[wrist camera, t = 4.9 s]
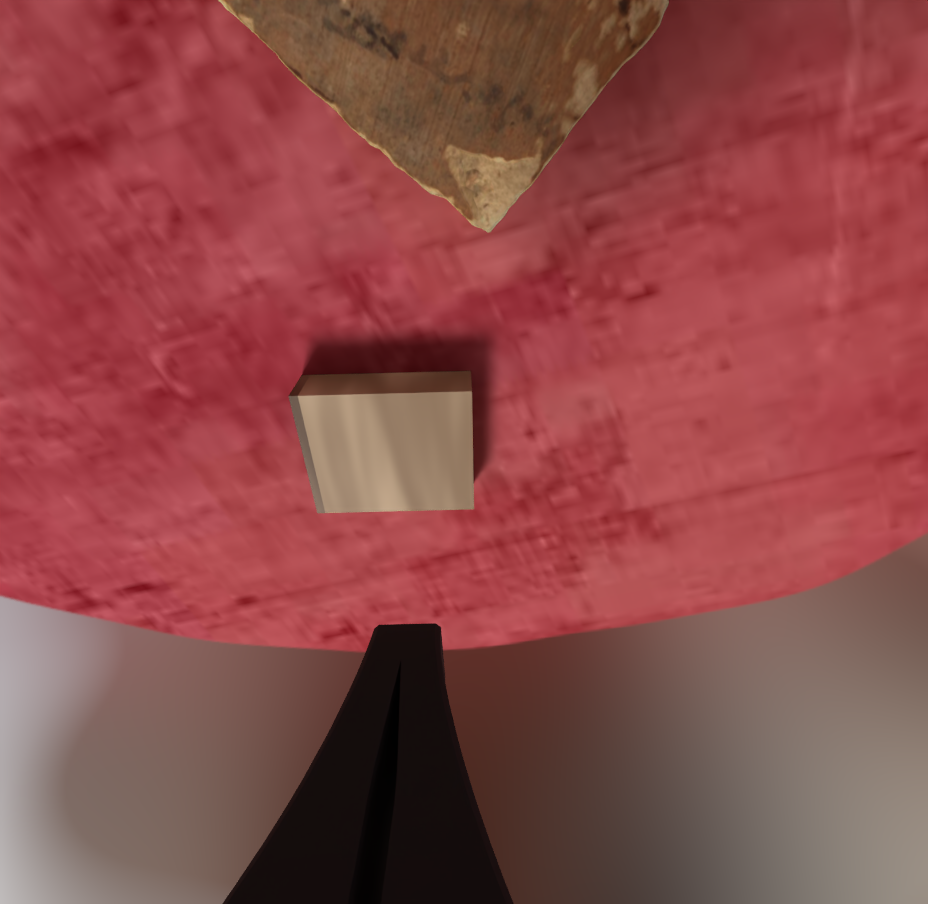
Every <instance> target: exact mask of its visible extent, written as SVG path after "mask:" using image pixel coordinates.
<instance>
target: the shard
mask: <svg viewBox="0 0 928 904" xmlns="http://www.w3.org/2000/svg"><path fill="white" fill-rule="evenodd" d="M219 1H220V2H221V3H222V4H223V6H224V7H225V8H226V9H227V10H228V11H229V12H231V13H232V14H233V15H235V16H236V17H237V18H238V19H239V20H240V21H241V22H242V23H243V24H244V25H246V26H247V27H248V28H249V29H250V30H251V31H252V32H253V33H255V34H256V35H257V36H258V37H259V38H260V39H261V40H262V41H263V42H264V43H265V44H266V45H267V46H268V47H269V48H270V49H271V50H272V51H274V52H275V53H276V54H277V56H278V57H279V59H280V60H281V62H282V63H283V64H284V65H285V66H286V67H287V68H288V69H289V70H290V71H291V72H292V73H293V75H294V76H295V77H296V78H297V79H298V80H300V81H301V82H302V83H303V84H304V85H306V86H307V87H308V88H309V89H310V90H311V91H312V92H313V93H314V94H315V95H317V96H318V97H319V98H321V99H322V100H324V101H325V102H326V103H327V104H328V105H329V106H331V107H332V108H333V109H334V110H335V111H336V112H337V113H338V114H339V115H340V116H341V117H342V118H343V120H344V121H345V122H346V123H347V124H348V125H349V126H350V127H351V128H352V129H353V130H354V131H355V132H356V133H358V134H359V135H360V136H361V137H363V138H364V139H366V141H367V142H368V143H369V144H370V145H372V146H373V147H375V148H378V149H380V150H381V151H382V152H383V153H384V154H385V155H386V156H387V157H388V158H389V159H390V160H391V162H392V163H393V164H394V165H395V167H397V168H399V169H401V170H403V171H404V172H406V173H407V174H408V175H409V176H410V177H411V178H413V179H414V180H415V181H416V182H418V183H419V184H420V185H421V186H422V187H423V188H424V189H425V190H426V191H428V192H429V193H431V194H433V195H436V196H440V197H443V198H445V199H447V200H448V201H449V202H450V203H451V204H452V205H453V206H454V207H455V208H456V209H457V210H458V211H459V212H460V213H461V214H462V215H463V216H464V217H465V218H466V219H467V220H468V221H469V222H470V223H471V224H472V225H473V226H476V227H478V228H481V229H483V230H485V231H487V232H491V231H492V230H493V228H494V227H495V226H496V224H497V223H498V222H499V221H500V220H501V219H502V218H503V217H504V216H505V215H506V213H507V211H508V209H509V208H510V207H511V206H512V205H513V204H514V203H515V202H516V200H517V199H518V198H519V196H520V195H521V194H522V193H524V192H525V191H526V190H527V189H528V188H529V187H530V186H531V185H532V184H533V183H534V181H535V180H536V179H537V177H538V176H539V175H540V173H541V172H542V170H543V169H544V167H545V166H546V165H547V164H548V163H549V161H550V160H551V159H552V158H553V156H554V155H555V154H556V152H557V151H558V150H559V148H560V147H561V145H562V144H563V142H564V141H565V139H566V138H567V136H568V134H569V133H570V131H571V130H572V128H573V127H574V126H575V124H576V123H577V122H578V121H579V120H580V119H581V118H582V116H583V115H584V114H585V112H586V111H587V109H588V108H589V107H590V106H591V104H592V103H593V102H594V101H595V99H596V98H597V96H598V95H599V94H600V92H601V91H602V90H603V88H604V87H605V86H606V84H607V83H608V82H609V81H610V80H611V79H612V78H613V77H614V76H615V75H616V73H617V72H618V71H619V69H620V68H621V67H622V66H623V65H624V64H625V63H626V62H627V61H628V60H630V59H631V58H632V57H633V56H635V54H636V53H637V52H638V51H639V50H640V49H641V48H642V47H643V46H644V45H645V44H646V43H647V42H648V41H649V39H650V38H651V37H652V35H653V34H654V33H655V31H656V30H657V29H658V27H659V26H660V23H661V21H662V18H663V15H664V12H665V10H666V8H667V6H668V4H669V1H668V0H219Z"/></svg>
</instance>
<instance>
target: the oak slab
mask: <svg viewBox="0 0 928 904" xmlns="http://www.w3.org/2000/svg"><path fill="white" fill-rule="evenodd" d="M289 400H290V404H291V408H292V412H293V416H294V420H295V424H296V428H297V432H298V436H299V440H300V444H301V448H302V453H303V457H304V461H305V465H306V469H307V473H308V477H309V481H310V485H311V489H312V493H313V497H314V501H315V505H316V509H317V513H342V512H381V511H421V510H460V509H474V482H473V422H472V382H471V371H445V372H405V373H366V374H326V375H302V376H301V377H300V379H299V380H298V382H297V384H296V385H295V387H294V388H293V390H292V392H291V393H290V395H289Z"/></svg>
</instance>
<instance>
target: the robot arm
mask: <svg viewBox="0 0 928 904" xmlns="http://www.w3.org/2000/svg"><path fill="white" fill-rule="evenodd" d="M223 904H513V901H512V899H511V896H510V894H509V891H508V889H507V886H506V884H505V881H504V879H503V876H502V873H501V870H500V868H499V865H498V862H497V859H496V857H495V854H494V851H493V848H492V846H491V843H490V840H489V837H488V834H487V832H486V829H485V826H484V823H483V820H482V817H481V814H480V811H479V808H478V805H477V802H476V799H475V796H474V793H473V790H472V786H471V783H470V780H469V777H468V773H467V770H466V767H465V763H464V760H463V757H462V753H461V749H460V745H459V742H458V738H457V734H456V730H455V726H454V722H453V717H452V713H451V709H450V705H449V700H448V695H447V690H446V684H445V670H444V659H443V647H442V636H441V627H440V626H438V625H437V624H396V625H378V626H377V627H376V628H375V629H374V631H373V634H372V637H371V640H370V643H369V645H368V648H367V651H366V653H365V656H364V658H363V660H362V663H361V665H360V668H359V670H358V672H357V675H356V677H355V679H354V681H353V683H352V686H351V688H350V690H349V692H348V694H347V696H346V698H345V700H344V702H343V704H342V706H341V708H340V711H339V712H338V714H337V717H336V719H335V720H334V723H333V725H332V727H331V729H330V730H329V733H328V734H327V736H326V738H325V740H324V742H323V744H322V745H321V747H320V749H319V751H318V753H317V754H316V756H315V758H314V760H313V762H312V763H311V765H310V767H309V769H308V771H307V772H306V774H305V776H304V778H303V780H302V782H301V783H300V785H299V787H298V788H297V790H296V792H295V793H294V795H293V797H292V798H291V800H290V802H289V803H288V805H287V807H286V808H285V810H284V812H283V813H282V815H281V816H280V818H279V820H278V821H277V823H276V824H275V826H274V827H273V829H272V831H271V832H270V834H269V835H268V837H267V839H266V840H265V842H264V843H263V845H262V846H261V848H260V849H259V851H258V852H257V854H256V855H255V857H254V858H253V860H252V861H251V863H250V864H249V866H248V867H247V869H246V870H245V872H244V873H243V875H242V876H241V877H240V879H239V880H238V882H237V884H236V885H235V887H234V888H233V890H232V891H231V892H230V894H229V895H228V896H227V898H226V899H225V901H224V903H223Z"/></svg>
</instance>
